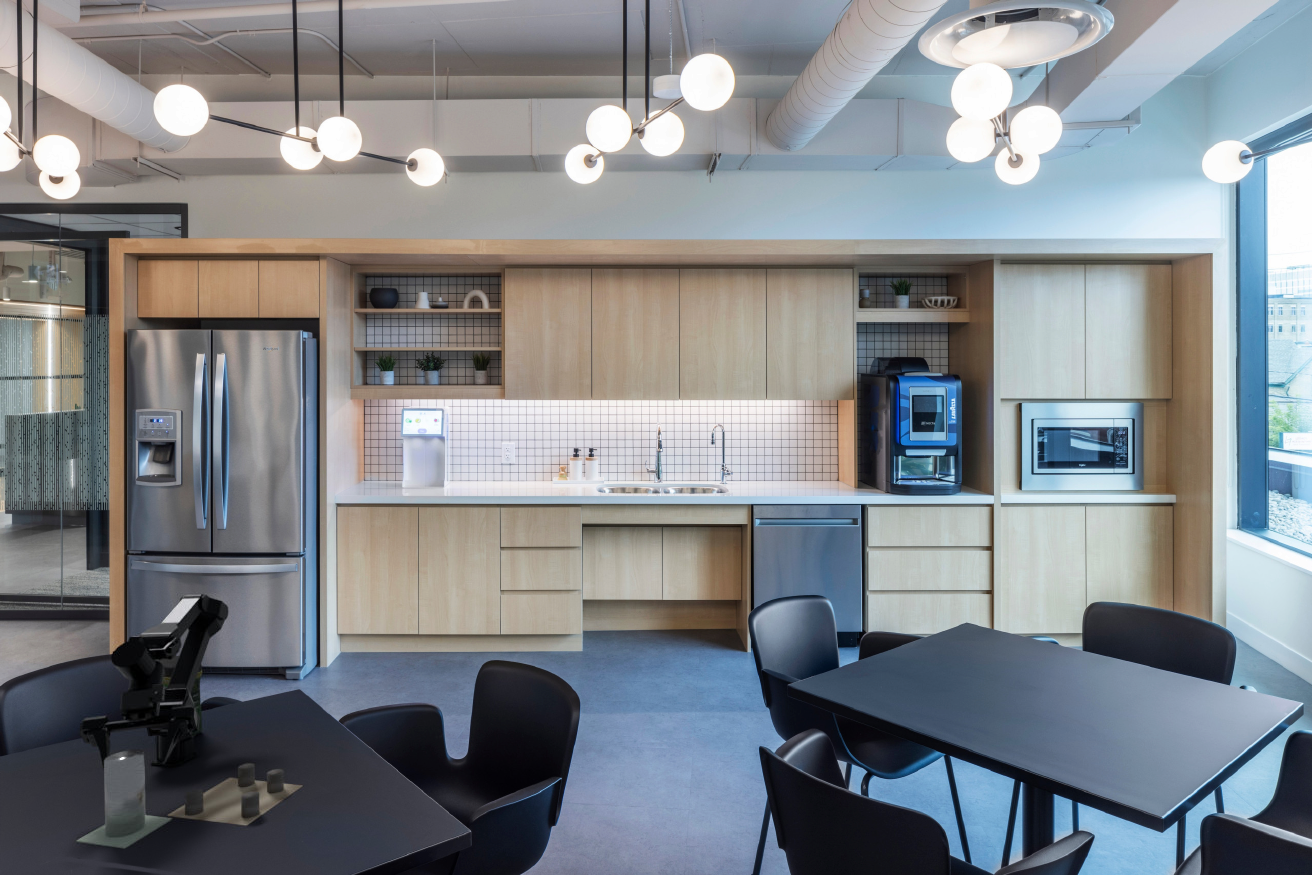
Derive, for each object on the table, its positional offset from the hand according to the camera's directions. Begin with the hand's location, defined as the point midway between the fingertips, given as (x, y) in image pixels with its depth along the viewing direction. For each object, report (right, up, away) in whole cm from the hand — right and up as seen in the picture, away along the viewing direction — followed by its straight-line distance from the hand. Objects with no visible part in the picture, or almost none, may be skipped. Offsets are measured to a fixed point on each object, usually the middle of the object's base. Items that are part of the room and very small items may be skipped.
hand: (134, 766), depth 147 cm
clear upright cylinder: (+3, -8, -7) cm, 11 cm away
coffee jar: (-15, -8, +37) cm, 41 cm away
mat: (+17, -9, +4) cm, 20 cm away
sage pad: (+3, -9, -7) cm, 12 cm away
